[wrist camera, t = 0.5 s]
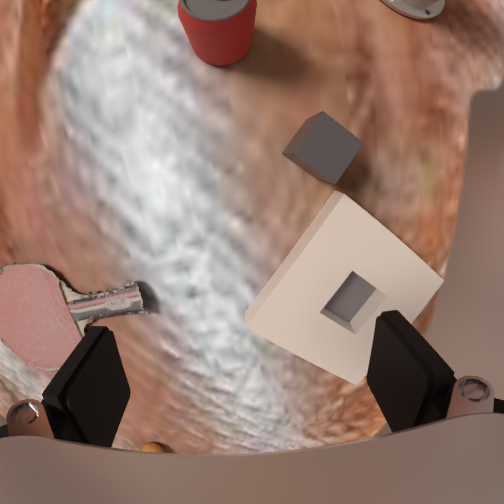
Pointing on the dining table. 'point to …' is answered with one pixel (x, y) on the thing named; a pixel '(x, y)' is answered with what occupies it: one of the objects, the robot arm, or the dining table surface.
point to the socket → (340, 289)
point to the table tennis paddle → (53, 313)
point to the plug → (323, 148)
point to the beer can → (219, 28)
